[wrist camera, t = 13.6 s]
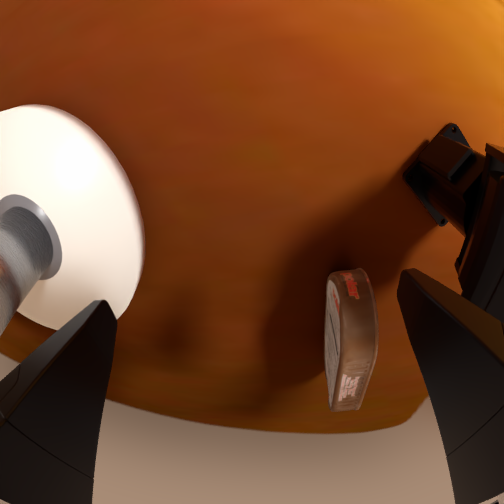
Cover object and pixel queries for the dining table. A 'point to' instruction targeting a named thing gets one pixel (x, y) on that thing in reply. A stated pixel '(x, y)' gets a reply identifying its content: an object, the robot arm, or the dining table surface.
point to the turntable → (72, 211)
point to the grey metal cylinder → (21, 258)
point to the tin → (349, 338)
